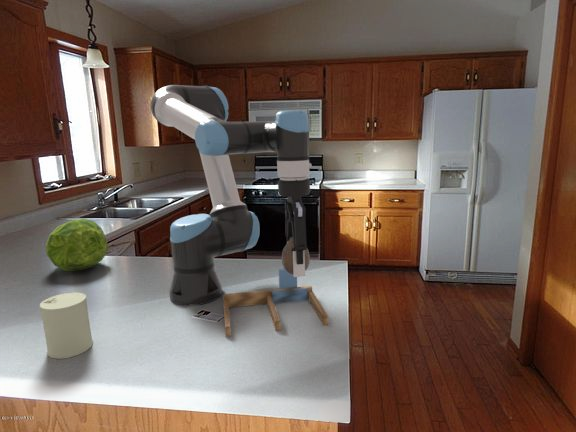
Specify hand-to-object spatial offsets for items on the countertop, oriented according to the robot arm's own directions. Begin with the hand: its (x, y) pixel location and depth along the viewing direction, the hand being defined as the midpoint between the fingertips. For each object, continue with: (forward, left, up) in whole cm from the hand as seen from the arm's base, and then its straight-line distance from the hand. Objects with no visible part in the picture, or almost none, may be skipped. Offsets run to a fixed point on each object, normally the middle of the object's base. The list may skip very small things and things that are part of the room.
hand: (296, 270), depth 99 cm
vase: (0, 0, 0) cm, 0 cm away
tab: (0, +13, -10) cm, 16 cm away
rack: (-6, +4, -13) cm, 15 cm away
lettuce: (-70, +58, -13) cm, 92 cm away
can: (-53, -2, -13) cm, 55 cm away
